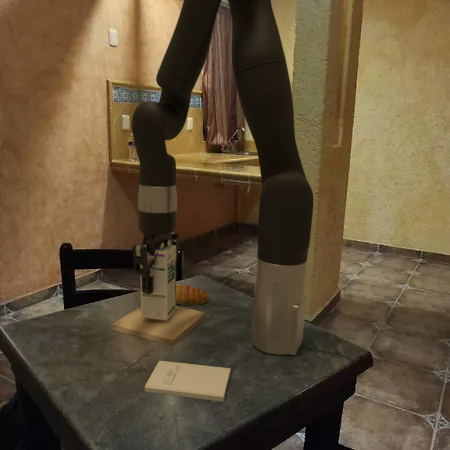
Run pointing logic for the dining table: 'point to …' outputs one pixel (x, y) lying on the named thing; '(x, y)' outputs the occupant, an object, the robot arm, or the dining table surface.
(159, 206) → the robot arm
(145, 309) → the syrup box
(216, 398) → the external hard drive
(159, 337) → the board
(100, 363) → the dining table surface
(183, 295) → the pastry
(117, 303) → the dining table surface
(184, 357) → the dining table surface
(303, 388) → the dining table surface
